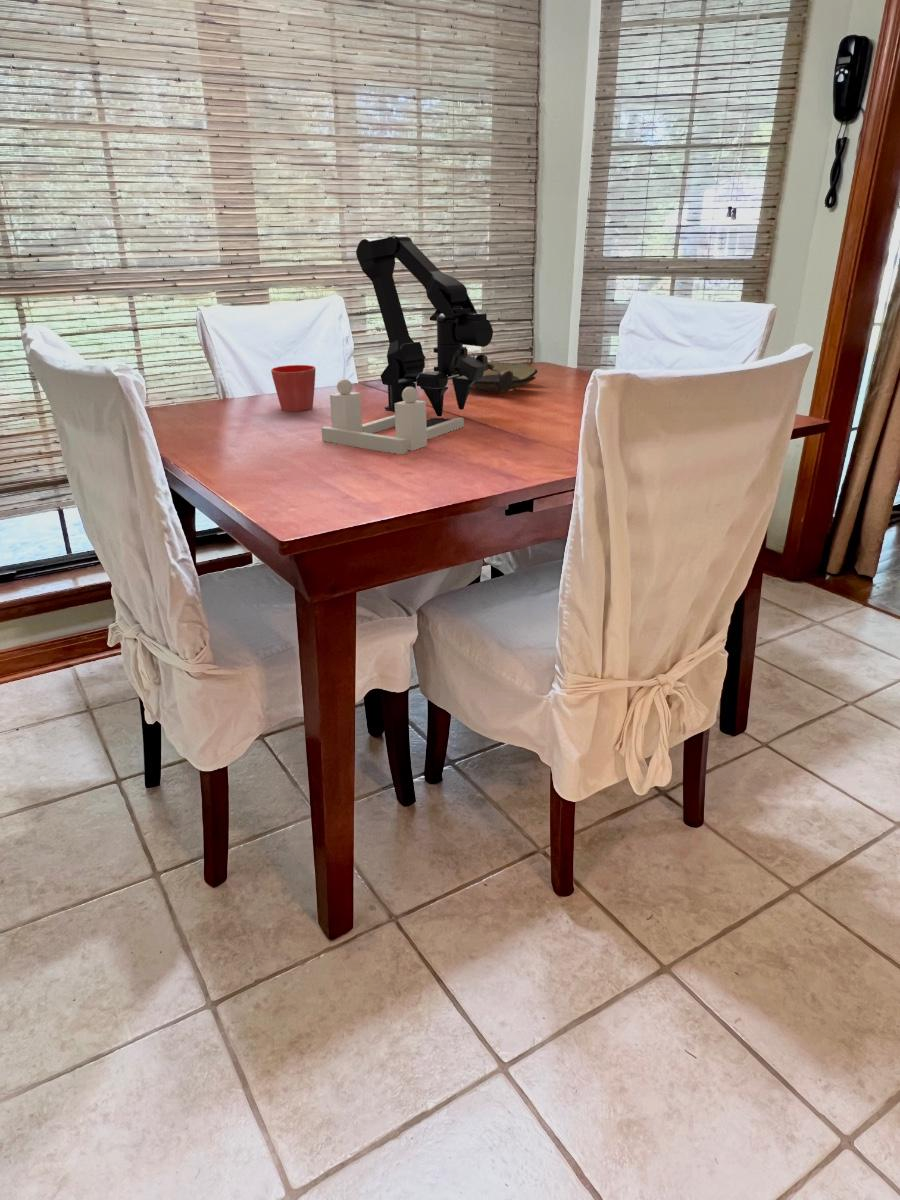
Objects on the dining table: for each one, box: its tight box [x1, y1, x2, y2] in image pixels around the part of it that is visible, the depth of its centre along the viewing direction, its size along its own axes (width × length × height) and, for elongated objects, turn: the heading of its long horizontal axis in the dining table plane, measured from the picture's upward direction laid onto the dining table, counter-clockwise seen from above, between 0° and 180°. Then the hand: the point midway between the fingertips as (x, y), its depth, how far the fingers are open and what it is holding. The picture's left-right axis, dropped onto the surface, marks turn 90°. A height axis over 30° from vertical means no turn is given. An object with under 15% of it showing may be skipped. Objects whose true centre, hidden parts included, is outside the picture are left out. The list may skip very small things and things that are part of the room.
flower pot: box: [271, 364, 316, 412], centre depth 199 cm, size 11×11×10 cm
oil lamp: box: [471, 361, 538, 392], centre depth 219 cm, size 22×30×8 cm
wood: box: [426, 417, 452, 427], centre depth 178 cm, size 22×7×3 cm, turn 151°
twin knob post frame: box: [321, 378, 465, 456], centre depth 172 cm, size 21×26×12 cm
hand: (450, 412), depth 188 cm, fingers open, 9 cm apart
